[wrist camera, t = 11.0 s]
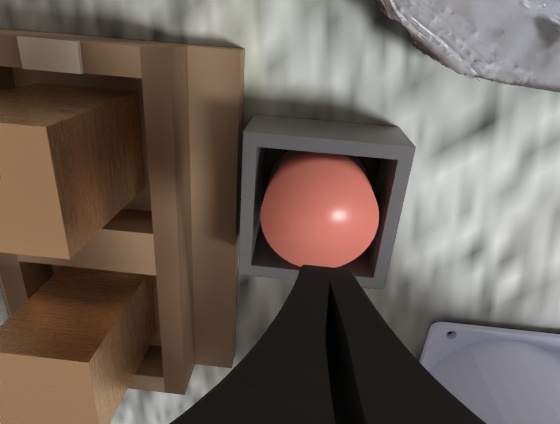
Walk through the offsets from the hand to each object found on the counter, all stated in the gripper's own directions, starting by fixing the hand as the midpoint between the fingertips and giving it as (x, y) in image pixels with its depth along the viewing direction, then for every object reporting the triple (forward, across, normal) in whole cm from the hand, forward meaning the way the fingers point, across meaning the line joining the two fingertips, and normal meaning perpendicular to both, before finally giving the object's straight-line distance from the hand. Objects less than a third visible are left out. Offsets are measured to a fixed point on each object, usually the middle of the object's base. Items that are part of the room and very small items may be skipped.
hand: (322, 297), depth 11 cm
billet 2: (+7, +10, +6) cm, 13 cm away
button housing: (+8, 0, 0) cm, 8 cm away
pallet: (+8, +10, +2) cm, 13 cm away
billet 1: (+7, +10, -2) cm, 12 cm away
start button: (+8, 0, 0) cm, 8 cm away
